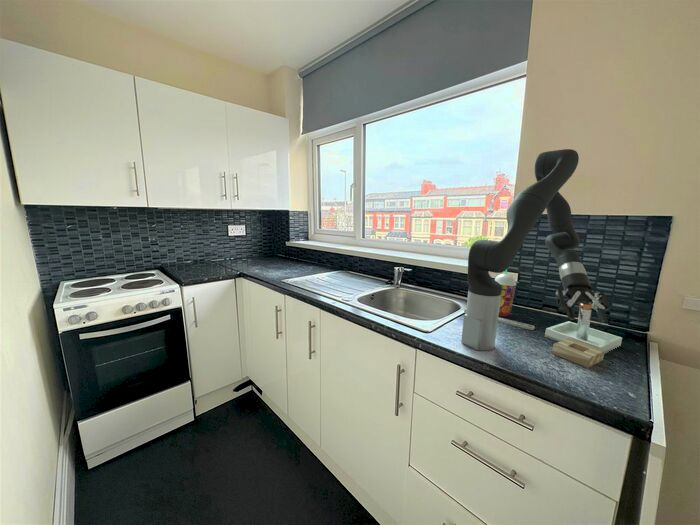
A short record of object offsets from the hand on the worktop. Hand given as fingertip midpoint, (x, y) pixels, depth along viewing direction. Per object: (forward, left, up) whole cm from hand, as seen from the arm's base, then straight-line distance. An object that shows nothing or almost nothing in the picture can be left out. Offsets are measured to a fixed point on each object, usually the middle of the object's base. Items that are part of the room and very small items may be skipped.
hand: (588, 320), depth 91 cm
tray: (+1, +1, -8) cm, 8 cm away
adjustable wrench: (-9, +25, -9) cm, 28 cm away
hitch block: (-13, -3, -8) cm, 15 cm away
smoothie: (0, +29, -8) cm, 30 cm away
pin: (+1, +1, -7) cm, 7 cm away
